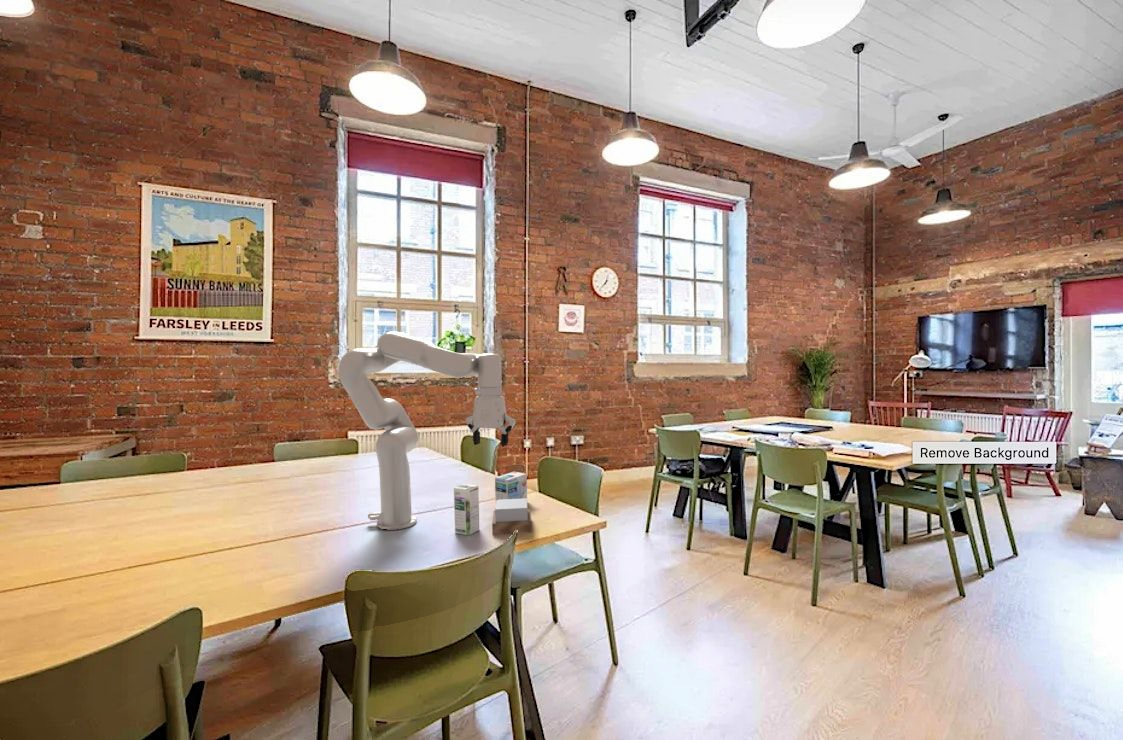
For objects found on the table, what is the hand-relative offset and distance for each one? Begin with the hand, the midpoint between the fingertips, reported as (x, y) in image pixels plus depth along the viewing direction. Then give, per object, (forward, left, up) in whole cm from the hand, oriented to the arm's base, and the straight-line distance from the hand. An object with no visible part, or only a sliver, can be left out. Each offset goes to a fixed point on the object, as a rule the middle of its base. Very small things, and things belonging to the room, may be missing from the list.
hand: (490, 445), depth 160 cm
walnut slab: (+6, -2, -27) cm, 28 cm away
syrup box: (-8, -4, -27) cm, 28 cm away
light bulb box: (+6, +21, -27) cm, 34 cm away
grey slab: (+6, -2, -23) cm, 24 cm away
